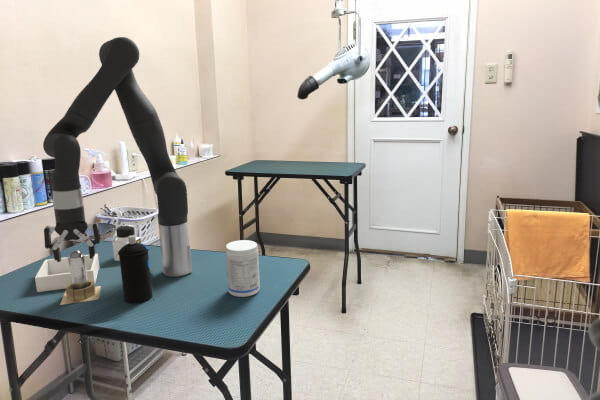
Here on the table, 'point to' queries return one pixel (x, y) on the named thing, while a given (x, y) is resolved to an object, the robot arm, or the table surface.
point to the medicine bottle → (123, 239)
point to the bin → (62, 273)
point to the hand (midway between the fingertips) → (75, 259)
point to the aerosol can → (135, 272)
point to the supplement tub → (242, 268)
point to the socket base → (81, 294)
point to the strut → (78, 270)
